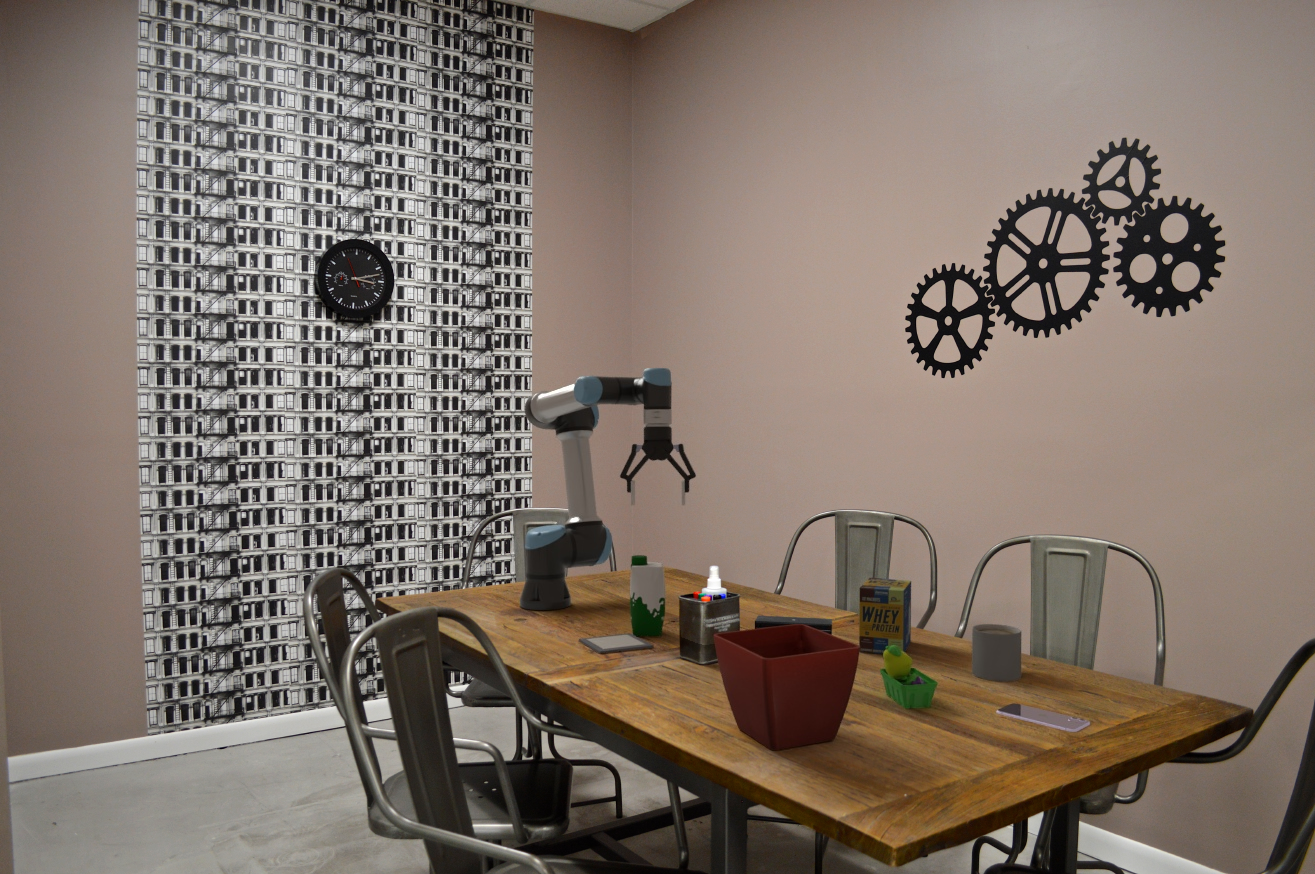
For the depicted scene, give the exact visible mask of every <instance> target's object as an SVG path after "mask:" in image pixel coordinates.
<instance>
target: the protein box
mask: <svg viewBox="0 0 1315 874" xmlns="http://www.w3.org/2000/svg"><path fill="white" fill-rule="evenodd" d="M858 589H859V591H858V593H859V594H858V598H859V599H858V601H859V603H858V604H859V605H858V607H859V608H858V612H859V613H858V645H859V646H860V652H859V653H867V654H877V655H883V653H884V651H885V650H886V648H885V647H886V646H889V647H890V646H891V645H896V646H898V647H899V648H900V650H901V651H903V652H905V653H906V651H907V650H908V648H909V646H910V644H911V642H912V641H911V640H912V637H911V635H912V634H911V633H912V629H911V628H912V581H911V580H904V579H891V578H890V579H889V578H877V577H869V578H868V579H866V581H865V582H864V583H863V584H862V585H861V586H860V587H859V588H858Z"/></svg>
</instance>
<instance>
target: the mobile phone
mask: <svg viewBox="0 0 1315 874" xmlns="http://www.w3.org/2000/svg"><path fill="white" fill-rule="evenodd" d="M995 713H996V714H997V715H1001V716H1005V717H1009V718H1012V719H1013V718H1014V719H1017V720H1021V721H1025V722H1029V723H1033V724H1037V725H1040V726H1041V725H1042V726H1046V727H1048V728H1049V727H1050V728H1053V729H1058V730H1061V731H1065V732H1070V733H1071V732H1073V733H1076V732H1079V731H1081V730H1082V729H1084V728H1086V727H1088V726H1090V725H1091V722H1090V721H1089V720H1088V719H1084V718H1080V717H1078V716H1077V717H1075V716H1072V715H1067V714H1062V713H1058V712H1054V711H1050V710H1045V709H1041V708H1038V707H1033V706H1029V705H1025V704H1020V703H1010V704H1008V705H1004V706H1003V707H1001V708H998V709H997V710H996V712H995Z"/></svg>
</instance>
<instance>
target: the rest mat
mask: <svg viewBox="0 0 1315 874" xmlns="http://www.w3.org/2000/svg"><path fill="white" fill-rule="evenodd" d="M578 642H579V643H581V644H583V645H584V646H586V647H587V648H589V649H591V650H592V651H594V652H596V653H597V652H598V653H597V654H599V655H602V654H601V653H605V654H611V652H613V653H619V651H621V652H627V651H628V650H630V651H635V649H638V650H644V649H643V648H646V649H653V647H654V644H652V643H650V642H648V641H647V640H644V639H642V638H641V637H636V636H635V635H633V633H619V634H612V635H611V634H610V635H609V634H608V635H602V636H592V637H583V638H578ZM628 652H629V651H628Z"/></svg>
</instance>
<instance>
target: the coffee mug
mask: <svg viewBox="0 0 1315 874" xmlns="http://www.w3.org/2000/svg"><path fill="white" fill-rule="evenodd" d="M971 630H972V632H971V633H972V635H971V641H972V643H971V644H972V645H971V649H972V651H971V652H972V653H971V655H972V656H971V666H972V667H971V674H972V675H973V676H974V677H976V678H979V679H982V680H985V681H992V682H1008V683H1009V682H1016V681H1018V680H1021V679H1022V630H1021V629H1020V628H1019V627H1015V626H1011V625H1007V624H999V623H997V624H995V623H983V624H974V625H973V626H972V629H971Z"/></svg>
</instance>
